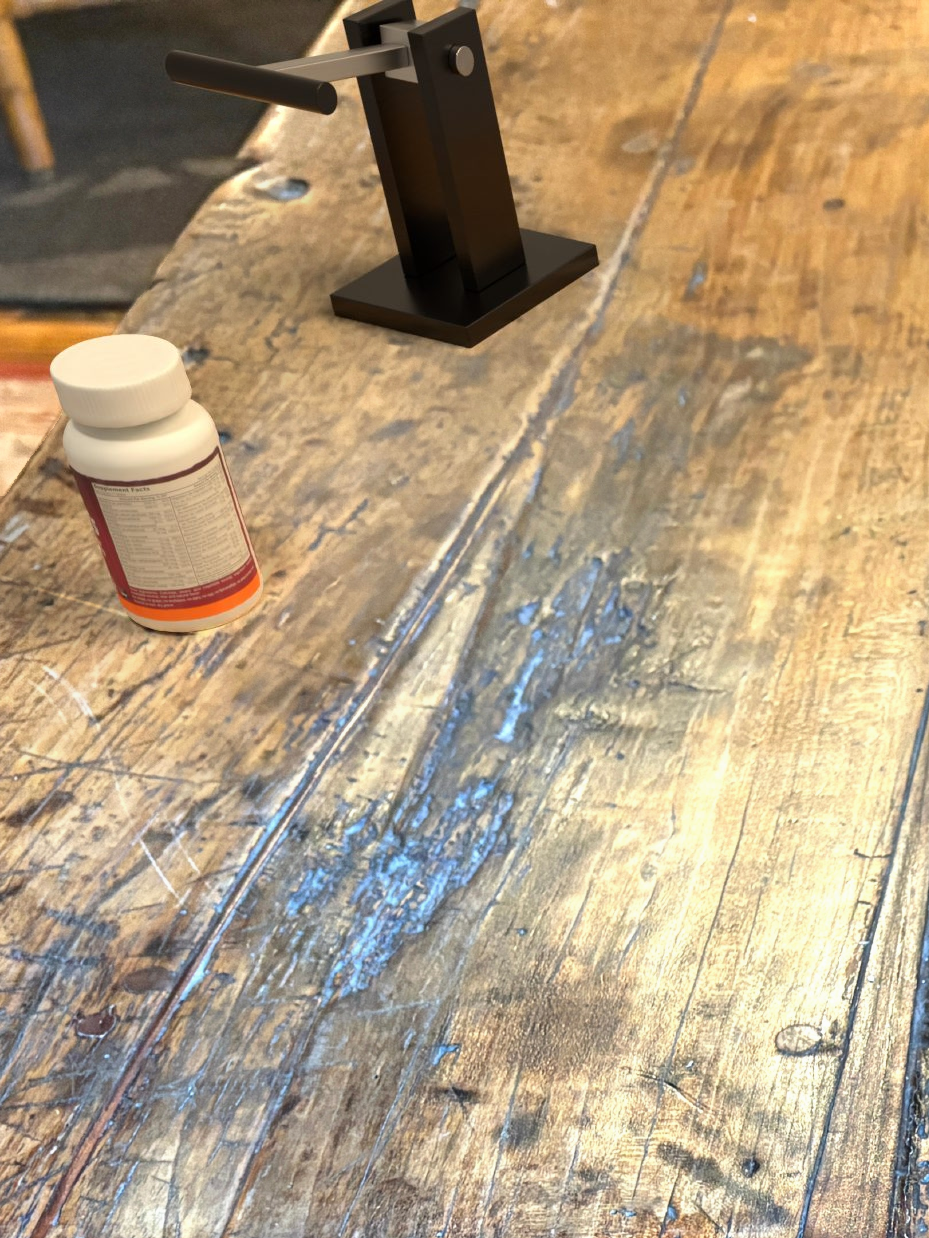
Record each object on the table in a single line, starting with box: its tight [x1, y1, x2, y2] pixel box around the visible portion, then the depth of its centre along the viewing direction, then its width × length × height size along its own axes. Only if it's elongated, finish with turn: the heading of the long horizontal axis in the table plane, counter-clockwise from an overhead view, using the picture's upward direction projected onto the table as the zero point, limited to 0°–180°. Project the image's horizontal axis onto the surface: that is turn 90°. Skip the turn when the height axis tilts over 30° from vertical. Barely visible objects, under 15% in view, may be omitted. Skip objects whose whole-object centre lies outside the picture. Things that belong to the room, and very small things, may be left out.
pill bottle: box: [49, 333, 264, 633], centre depth 96 cm, size 6×6×11 cm
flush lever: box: [164, 18, 428, 116], centre depth 110 cm, size 14×9×2 cm, turn 157°
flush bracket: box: [329, 0, 600, 349], centre depth 118 cm, size 12×9×14 cm
